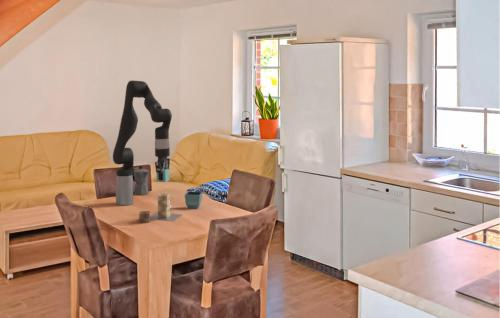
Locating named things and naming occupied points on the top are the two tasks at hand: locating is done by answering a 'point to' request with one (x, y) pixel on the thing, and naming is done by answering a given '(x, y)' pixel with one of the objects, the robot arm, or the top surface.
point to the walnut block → (144, 217)
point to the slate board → (171, 218)
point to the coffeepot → (140, 181)
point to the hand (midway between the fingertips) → (162, 179)
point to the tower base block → (164, 212)
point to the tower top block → (163, 200)
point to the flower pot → (193, 199)
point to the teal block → (164, 176)
